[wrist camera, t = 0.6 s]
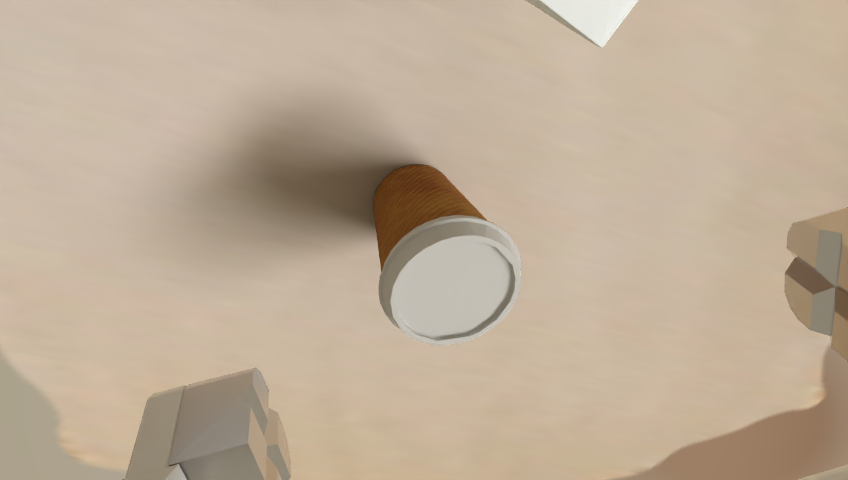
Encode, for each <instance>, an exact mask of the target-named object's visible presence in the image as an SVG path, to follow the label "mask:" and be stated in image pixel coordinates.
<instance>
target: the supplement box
mask: <svg viewBox="0 0 848 480" xmlns="http://www.w3.org/2000/svg"><path fill="white" fill-rule="evenodd" d="M526 1H527V2H529V3H531V4H532V5H534V6H535V7H537V8H538V9H540V10H541V11H543V12H545V13H546V14H548V15H549V16H551V17H552V18H554V19H555V20H557V21H558V22H560V23H561V24H563V25H565V26H566V27H568V28H569V29H571V30H572V31H574V32H576V33H577V34H579V35H580V36H582V37H584V38H585V39H587V40H588V41H590V42H592V43H593V44H595V45H597V46H598V47H603V46H604V45H605V44H606V42H607V41H608V40H609V38H610V37H611V36H612V34H613V33H614V32H615V30H616V29H617V28H618V26H619V25H620V24H621V22H622V21H623V20H624V18H625V17H626V16H627V14H628V13H629V12H630V11H631V9H632V8H633V7H634V5H635V4H636V3H637V1H638V0H526Z"/></svg>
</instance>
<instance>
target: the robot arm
mask: <svg viewBox="0 0 848 480" xmlns="http://www.w3.org/2000/svg"><path fill="white" fill-rule="evenodd" d="M787 249H788V250H789V251H790V252H791V253H792V255H793V256H794V257H795V259H794V260H793V262H792V263H791V265H790V266H789V268H788V269H787V271H786V272H785V294H786V297H787V300H788V303H789V306H790V309H791V310H792V311H793V313H794V314H795V316H796V317H797V319H798V320H799V321H800V322H801V323H803V324H804V325H805V326H806V327H807V328H808V329H809V330H812V331H815V332H819V333H822V334H825V335H829V336H830V339H831V348H832V349H833V350H835V351H836V352H837V353H838V354H840V355H841V356H842V357H843V358H844V359H846V360H847V361H848V207H847V208H843V209H840V210H836V211H833V212H829V213H826V214H822V215H819V216H815V217H812V218H808V219H805V220H801V221H798V222H794V223H793V224H792V226H791V228H790V230H789V232H788V237H787ZM268 393H269V390H268V387H267V385H266V383H265V380H264V378H263V376H262V374H261V372H260V371H259V370H258V369H257V368H253V369H249V370H245V371H241V372H237V373H233V374H229V375H225V376H221V377H217V378H213V379H209V380H205V381H201V382H197V383H193V384H189V385H188V386H181V387H177V388H174V389H170V390H166V391H163V392H159V393H155V394H153V395H152V396H151V397H149V398H148V400H147V402H146V406H145V409H144V413H143V416H142V420H141V424H140V427H139V431H138V434H137V438H136V442H135V445H134V449H133V452H132V456H131V460H130V463H129V467H128V470H127V474H126V478H125V479H123V480H289V479H290V477H291V468H290V456H289V450H288V443H287V439H286V435H285V432H284V428H283V425H282V423H281V420H280V417H279V415H278V413H277V412H275V411H273V410H272V409H270V408H268ZM798 480H848V465H845V466H842V467H838V468H835V469H831V470H828V471H825V472H822V473H818V474H815V475H811V476H808V477H804V478H801V479H798Z"/></svg>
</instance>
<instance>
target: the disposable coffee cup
mask: <svg viewBox="0 0 848 480" xmlns="http://www.w3.org/2000/svg"><path fill="white" fill-rule="evenodd" d="M373 210H374V217H375V225H376V233H377V240H378V248H379V257H380V263H381V275H380V280H379V299H380V303H381V306H382V308H383V310H384V312H385V315H386V316H387V317H388V318H389V319H390V321H391V322H392V323H393V324H394V325H395V326H397V327H398V328H400V329H401V330H402V331H403V332H405V333H406V334H407V335H408V336H410V337H411V338H413V339H415V340H417V341H420V342H423V343H428V344H434V345H453V344H458V343H463V342H466V341H469V340H472V339H475V338H477V337H479V336H481V335H483V334H484V333H486V332H487V331H489V330H490V329H492V328H493V327H495V326H496V325H497V324H498V323H499V322H500V321H501V320H502V319H503V318H504V317H505V316H506V315H507V314H508V312H509V311H510V309H511V308H512V307H513V305H514V303H515V301H516V298H517V296H518V294H519V289H520V285H521V275H520V273H521V258H520V255H519V251H518V248H517V246H516V244H515V243H514V241H513V240H512V238H511V237H510V236H509V235H508V234H507V233H506V232H505V231H504V230H503V229H502V228H500V227H498V226H497V225H495V224H494V223H492V222H489V221H487V219H485V218H484V217H483V215H482V214H481V213H479V211H478V210H477V209H476V208H475V207H474V206H473V205H472V204H471V203H470V202H469V201H468V200H467V199H466V198H465V196H463V195H462V194H461V193H460V192H459V190H458V189H457V188H456V187H455V186H454V185H453V184H452V183H451V182H450V181H449V180H448V179H447V178H446V177H445V176H444V175H443V174H442V173H441V172H440V171H438V170H437V169H435V168H433V167H430V166H426V165H409V166H405V167H402V168H400V169H397V170H395V171H394V172H392V173H391V174H389V175H388V176H387V177H386V178H385V179H384V180H383V181H382V182H381V184H380V185H379V186H378V188H377V190H376V192H375V196H374V200H373Z"/></svg>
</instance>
